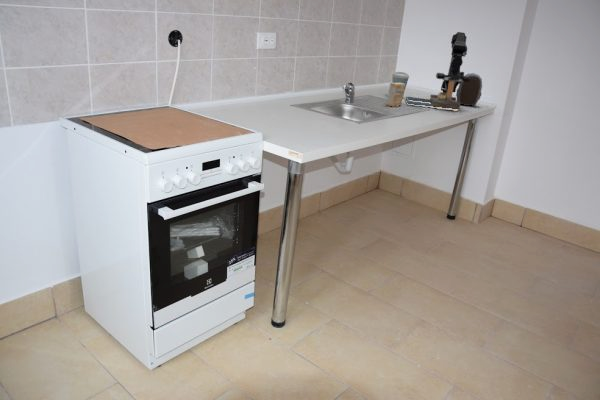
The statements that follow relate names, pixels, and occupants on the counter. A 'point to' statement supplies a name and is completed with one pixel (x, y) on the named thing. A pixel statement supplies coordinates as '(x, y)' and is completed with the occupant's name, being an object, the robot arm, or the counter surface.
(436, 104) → the railed tan board
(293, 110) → the counter surface
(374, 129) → the counter surface
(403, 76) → the disposable coffee cup
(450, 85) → the brown and grey block
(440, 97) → the brass block
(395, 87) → the supplement box
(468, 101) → the dark brown rounded block
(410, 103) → the slate tray
